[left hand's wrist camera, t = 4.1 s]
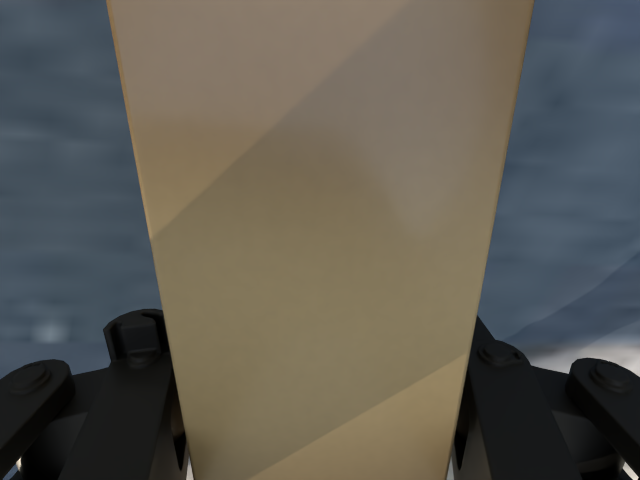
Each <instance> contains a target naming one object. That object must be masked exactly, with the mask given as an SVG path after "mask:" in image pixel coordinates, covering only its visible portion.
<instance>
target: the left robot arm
mask: <svg viewBox="0 0 640 480" xmlns="http://www.w3.org/2000/svg"><path fill="white" fill-rule="evenodd" d="M103 332H104V335H105V339H106V343H107V347H108V351H109V355H110V359H111V363H110V365H109V367H108V368H104V369H100V370H96V371H91V372H86V373H81V374H77V375H72V374H71V371H70V367H69V365H68V364H67V363H65V362H64V361H61V360H55V359H52V360H43V361H37V362H34V363H30V364H27V365H24V366H23V367H21V368H19V369H17V370H14V371H12V372H11V373H9V374H8V375H6V376H5V377H3V378H2V379H0V480H3V478H4V477H5V475H6V474H7V473H8V472H9V471H10V470H11V468H12V467H13V466H14V465H15V464H16V465H17V467H18V469H19V470H18V471H17V472H16V473H15V474H14V476H13V477H12V478H11V479H10V480H186V476H187V467H188V459H189V451H188V445H187V440H186V434H185V429H184V423H183V418H182V412H181V407H180V401H179V396H178V391H177V385H176V380H175V374H174V369H173V363H172V358H171V352H170V347H169V341H168V336H167V330H166V325H165V319H164V314H163V311H162V310H158V309H141V310H136V311H132V312H129V313H126V314H124V315H121V316H119V317H117V318H116V319H114V320H112V321H111V322H109V323H108V324H107V326H106V327H105V328H104V329H103ZM451 458H452V466H453V475H454V480H633V479H632V478H630V477H629V476H628V474H627V473H626V472H625V471H624V470H623V466H624V463H625V462H626V463H627V464H628V465H629V466H630V468H631V469H632V470H633V471H634V472H635V473H636V475H637V476H638V477H639V478H638V480H640V377H639V376H637V375H636V374H634V373H633V372H631V371H630V370H628V369H626V368H624V367H621V366H619V365H618V364H616V363H613V362H610V361H609V362H608V361H606V360H602V359H595V358H582V359H577V360H576V361H575V362H574V363H572V365H571V368H570V372H569V374H567V373H562V372H557V371H552V370H547V369H543V368H539V367H535V366H531V365H530V362H529V361H528V359H527V358H526V357H525V355H524V354H523V353H522V352H521V351H519V350H518V349H516V348H515V347H514V346H511V345H509V344H507V343H505V342H502V341H498V340H495V339H494V337H493V336H492V335H491V333H490V332H489V331H488V329H487V328H486V326H485V325H484V324H483V322H482V321H481V320H480V318H479V317H478V316H477V317H476V322H475V328H474V333H473V339H472V344H471V350H470V355H469V360H468V366H467V371H466V377H465V382H464V388H463V393H462V399H461V404H460V410H459V415H458V420H457V426H456V431H455V437H454V442H453V448H452V453H451ZM450 460H451V459H450Z"/></svg>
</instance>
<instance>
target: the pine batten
mask: <svg viewBox="0 0 640 480" xmlns="http://www.w3.org/2000/svg"><path fill="white" fill-rule="evenodd" d="M534 1H535V0H106V2H107V8H108V13H109V19H110V24H111V29H112V35H113V40H114V46H115V51H116V57H117V62H118V68H119V73H120V79H121V84H122V90H123V95H124V101H125V106H126V112H127V117H128V122H129V128H130V133H131V139H132V144H133V150H134V155H135V161H136V166H137V172H138V177H139V183H140V188H141V194H142V199H143V205H144V210H145V215H146V221H147V226H148V232H149V237H150V243H151V248H152V254H153V259H154V265H155V270H156V276H157V281H158V287H159V292H160V298H161V303H162V308H163V314H164V319H165V325H166V330H167V336H168V341H169V347H170V352H171V358H172V363H173V369H174V374H175V380H176V385H177V391H178V396H179V401H180V407H181V412H182V418H183V423H184V429H185V434H186V440H187V445H188V451H189V456H190V462H191V467H192V473H193V478H194V480H447V475H448V470H449V464H450V459H451V453H452V448H453V442H454V437H455V431H456V426H457V420H458V415H459V410H460V404H461V399H462V393H463V388H464V382H465V377H466V371H467V366H468V360H469V355H470V350H471V344H472V339H473V333H474V328H475V322H476V317H477V311H478V306H479V301H480V295H481V290H482V284H483V279H484V273H485V268H486V262H487V257H488V251H489V246H490V241H491V235H492V230H493V224H494V219H495V213H496V208H497V202H498V197H499V191H500V186H501V181H502V175H503V170H504V164H505V159H506V153H507V148H508V142H509V137H510V131H511V126H512V121H513V115H514V110H515V104H516V99H517V93H518V88H519V82H520V77H521V72H522V66H523V61H524V55H525V50H526V44H527V39H528V33H529V28H530V22H531V17H532V12H533V6H534Z"/></svg>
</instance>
